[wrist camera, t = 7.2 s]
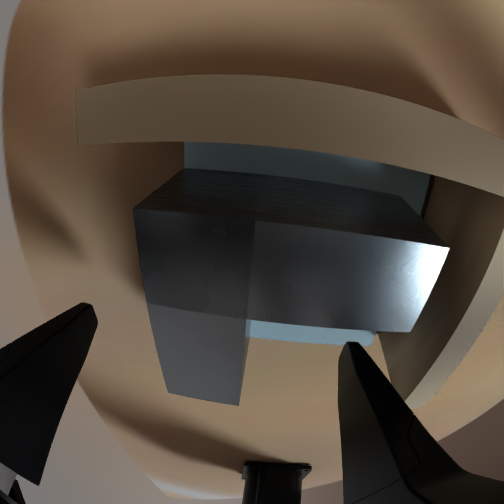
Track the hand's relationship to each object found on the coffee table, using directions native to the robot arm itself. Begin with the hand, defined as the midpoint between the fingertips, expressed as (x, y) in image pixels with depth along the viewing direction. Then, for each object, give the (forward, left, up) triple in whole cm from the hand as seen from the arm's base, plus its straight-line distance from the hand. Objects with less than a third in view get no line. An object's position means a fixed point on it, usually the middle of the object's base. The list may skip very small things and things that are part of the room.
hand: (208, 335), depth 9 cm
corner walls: (+2, -3, -2) cm, 4 cm away
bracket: (+1, -2, -2) cm, 3 cm away
